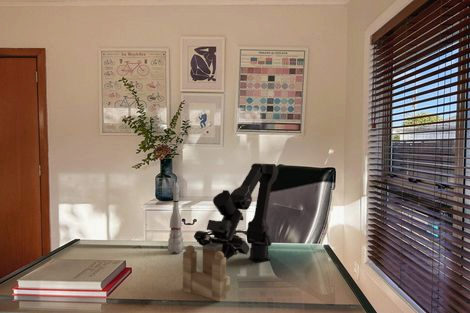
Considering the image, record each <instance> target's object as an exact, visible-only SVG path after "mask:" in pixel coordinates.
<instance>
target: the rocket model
mask: <svg viewBox="0 0 470 313" xmlns="http://www.w3.org/2000/svg"><path fill="white" fill-rule="evenodd" d="M172 194H173V198H172V199H173V202H172V203H173V207H172V213H171V216H170V221H169V228H170V230H169V231H170V232H169V234H168V235H169V238H168V242H167V243H168V244H167V251H168V252H169V253H172V254H173V253H175V254H179V253H181V252H182V251H183V250H184V248H185V245H184V244H185V243H184V237H183V232H182V226H183V225H182V223H183V222H182V216H181V213H180V207H179V201H180V200H179V194H180V185H179V184H178V182H177V181H176V182H174V185H173V187H172Z"/></svg>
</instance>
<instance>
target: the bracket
mask: <svg viewBox="0 0 470 313" xmlns="http://www.w3.org/2000/svg"><path fill="white" fill-rule="evenodd" d="M222 249H223V245H220V244H215V243H209V244H207V245H204V246H202V272H203V273H206V274H210V275H212V258H215V257H214V256H215V253H216V252H218V251H221V252H222Z"/></svg>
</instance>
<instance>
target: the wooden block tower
mask: <svg viewBox="0 0 470 313" xmlns="http://www.w3.org/2000/svg"><path fill="white" fill-rule="evenodd" d="M197 257H198V252H197V250H195V247H194V245H187V246H186V247H185V251H183V252H182V291H184V292H186V293H192V294H196V295H200V296H203V297H205V298H206V297H207V298H210V299H211V300H214V301H215V302H216V301H217V302H222V301H224V300H225V299H226V298H227V292H229V291H230V290H231V276H228V275H227V261H226V258H225V257H224V254H223V253H222V252H221V251H218V252H216V253H215V256H214V257H215V258H212V275H210V274H206V273H203V271H198V270H197V266H198V264H197V263H198V261H197V260H198V258H197Z"/></svg>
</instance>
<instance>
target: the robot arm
mask: <svg viewBox="0 0 470 313" xmlns="http://www.w3.org/2000/svg"><path fill="white" fill-rule="evenodd" d="M278 175H279V167H278V166H277V164H275V163H255V162H254V163H253V164H252V165H251V168H250V170H249V172H248V173H247V175H246V176H245V178H244V180H243V181H242V183H241V184H240V186H238V187H237V188H235V189H233V191H232V192H230V191H229V190H228V189H227V190H226V189H223V190H222V192H219V193H218V194H216V195H215V196H214V197H213V199H212V203H213V205H214V206H215V208H216V210H217V211H218V212H219V214H220V215H221V216H222V218H221V220H213V219H208V222H207V226H206V230H207V231H210V233H211V235H212V236H210V234H209V233H208V232H207V231H203V230H197V231H195V233H194V235H193V238H194V239H195V240H196V242H197V243H198V244H199V245H200V246H202V247H203V246H204V245H207V244H209V243H215V244H220V245H223V249H222V253H223V254H224V257H225V258H226V262H227V261H228V260H229V259H230V258H232V257H233V256H236V255H238V253H239V254H240V255H246V256H247V255H248V253H249V256H248V258H249V259H250V260H252V261H254V262H255V263H262V262H265V261H271V258H270V257H269V247H271V246H272V243H273V238H272V236H271V234H270V232H269V229H270V227H269V225H268V223H267V216H268V208H269V202H270V195H271V190H272V185H273V184H274V183H275V182H276V181H277V177H278ZM258 183H259V186H258V190H257V191H258V192H257V198H256V203H255V211H254V215H253V219H252V220H251V221H248V223H247V229H246V231H245V232H246V234H245V235H246V239H245V238H243V237H241V238H239V237H240V236H239V237H233V235H234V234H235V235H237V233H238V231H237V228H238V225H239V223H240V221H244V216H243V212H241V210H243V211H245V210H246V211H247V210H248V209H249V208H250V206H251V204H252V201H253V197H252V194H253V192H254V191H255V189H256V187H257V185H258ZM232 237H233V238H232ZM246 240H247V241H246ZM248 244H249V245H250V246H249V245H248ZM237 249H238V251H237Z"/></svg>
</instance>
